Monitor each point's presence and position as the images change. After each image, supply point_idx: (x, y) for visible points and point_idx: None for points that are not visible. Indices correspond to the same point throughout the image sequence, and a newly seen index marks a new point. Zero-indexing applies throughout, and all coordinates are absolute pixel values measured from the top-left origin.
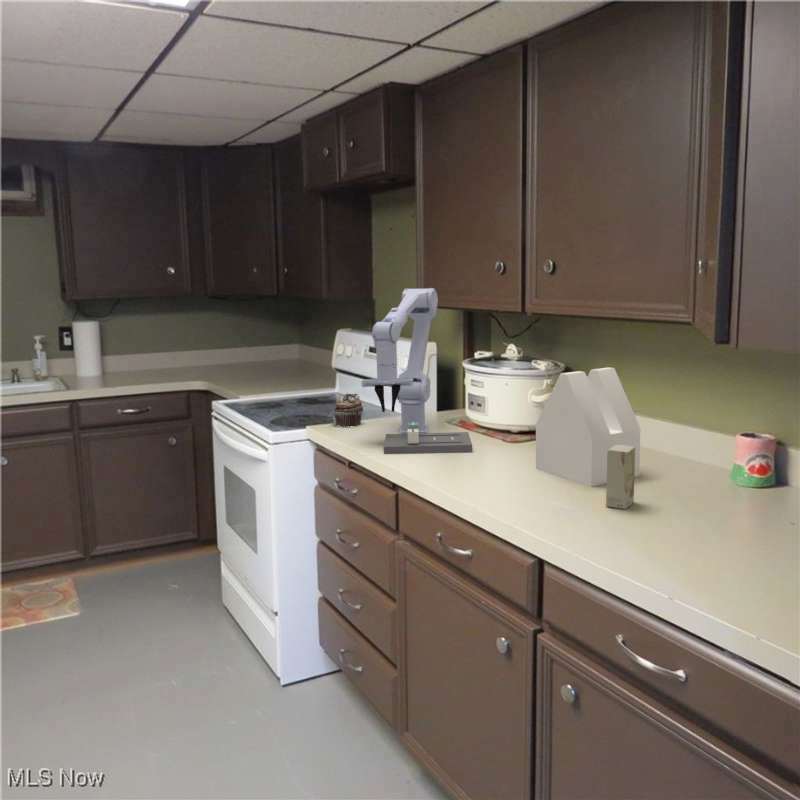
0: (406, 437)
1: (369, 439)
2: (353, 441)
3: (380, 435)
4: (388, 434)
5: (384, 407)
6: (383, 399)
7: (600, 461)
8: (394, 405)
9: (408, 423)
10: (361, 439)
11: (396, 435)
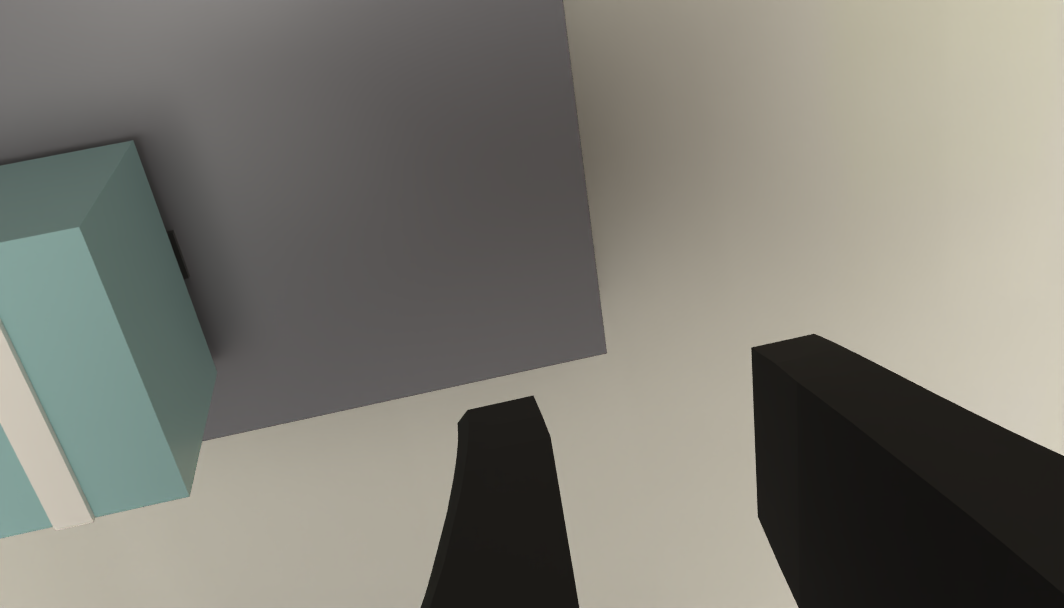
0: (175, 142)
1: (821, 335)
2: (1033, 201)
3: (698, 543)
4: (559, 320)
5: (813, 446)
6: (1047, 583)
7: None
8: (451, 528)
9: (135, 405)
10: (926, 321)
11: (407, 268)
